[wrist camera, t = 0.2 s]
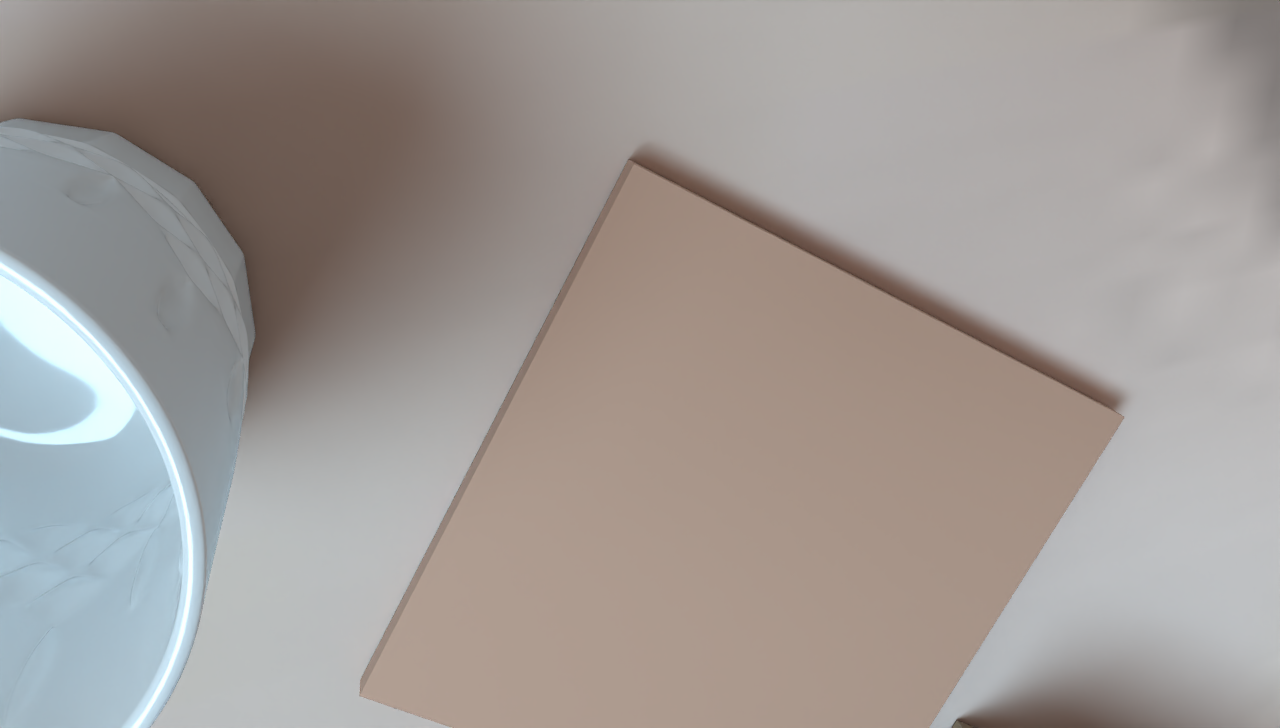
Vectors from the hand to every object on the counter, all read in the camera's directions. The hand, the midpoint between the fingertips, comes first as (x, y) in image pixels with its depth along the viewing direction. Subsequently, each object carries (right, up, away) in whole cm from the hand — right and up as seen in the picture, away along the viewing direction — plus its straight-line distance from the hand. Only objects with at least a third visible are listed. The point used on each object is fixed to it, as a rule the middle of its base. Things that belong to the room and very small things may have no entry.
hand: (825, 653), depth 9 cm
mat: (+1, -2, +17) cm, 17 cm away
